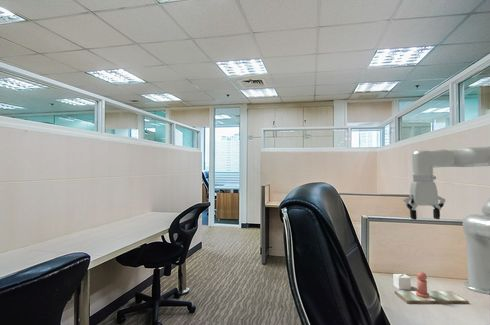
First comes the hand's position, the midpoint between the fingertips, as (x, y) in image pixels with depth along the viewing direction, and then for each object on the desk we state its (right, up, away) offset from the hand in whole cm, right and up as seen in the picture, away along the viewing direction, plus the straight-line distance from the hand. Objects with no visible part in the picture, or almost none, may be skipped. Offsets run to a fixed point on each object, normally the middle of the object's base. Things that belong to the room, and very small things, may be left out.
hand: (425, 219), depth 126 cm
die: (-8, -31, +3) cm, 32 cm away
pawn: (-7, -29, -9) cm, 31 cm away
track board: (-4, -30, -9) cm, 31 cm away
